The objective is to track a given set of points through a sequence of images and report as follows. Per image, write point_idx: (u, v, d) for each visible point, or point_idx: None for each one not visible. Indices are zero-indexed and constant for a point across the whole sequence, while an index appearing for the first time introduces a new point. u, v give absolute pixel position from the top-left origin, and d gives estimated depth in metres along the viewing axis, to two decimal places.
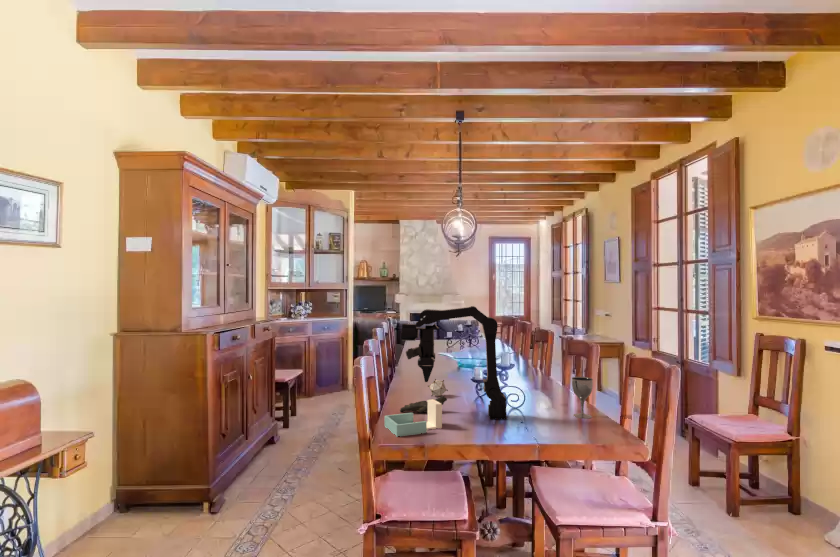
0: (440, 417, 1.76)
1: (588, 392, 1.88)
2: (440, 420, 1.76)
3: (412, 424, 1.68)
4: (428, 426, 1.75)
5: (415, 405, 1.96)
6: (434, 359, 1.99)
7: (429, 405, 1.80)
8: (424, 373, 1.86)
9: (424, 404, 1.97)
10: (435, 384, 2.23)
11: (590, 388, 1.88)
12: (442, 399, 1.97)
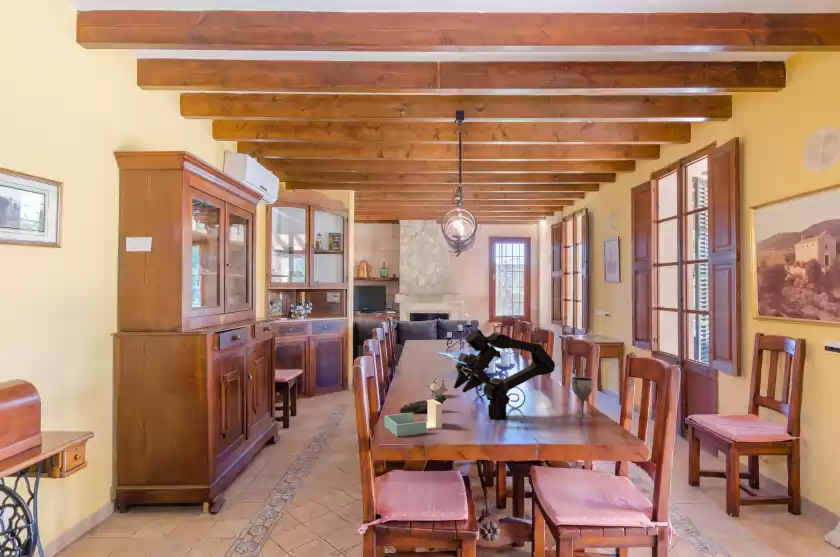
0: (440, 417, 1.76)
1: (588, 392, 1.88)
2: (440, 420, 1.76)
3: (412, 424, 1.68)
4: (428, 426, 1.75)
5: (415, 405, 1.97)
6: None
7: (429, 405, 1.80)
8: (469, 383, 1.80)
9: (424, 404, 1.97)
10: (435, 384, 2.23)
11: (590, 388, 1.88)
12: (442, 399, 1.98)
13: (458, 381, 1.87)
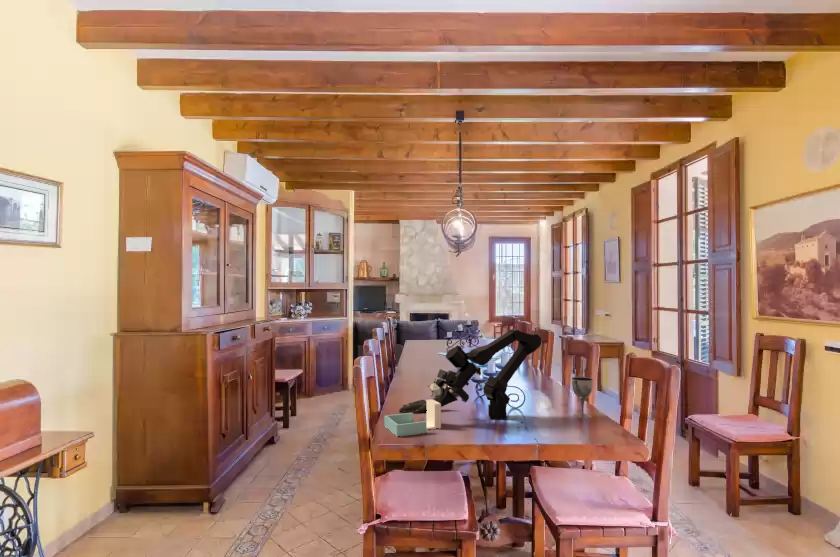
0: (439, 417, 1.76)
1: (588, 392, 1.88)
2: (439, 420, 1.76)
3: (412, 424, 1.68)
4: (427, 426, 1.75)
5: (415, 404, 1.97)
6: None
7: (428, 405, 1.80)
8: (443, 399, 1.79)
9: (423, 403, 1.98)
10: (435, 384, 2.23)
11: (590, 388, 1.88)
12: None
13: None
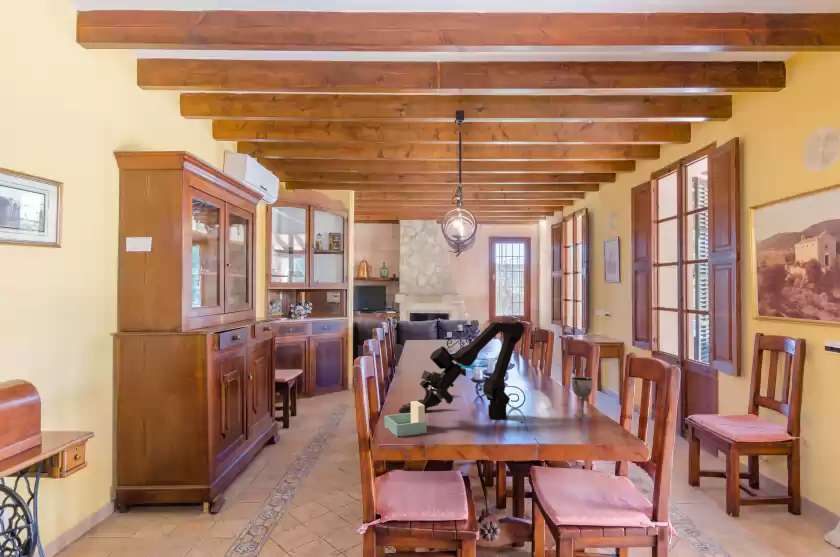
0: (423, 419, 1.73)
1: (588, 392, 1.88)
2: None
3: (412, 424, 1.68)
4: None
5: None
6: None
7: (412, 407, 1.78)
8: (428, 401, 1.76)
9: None
10: None
11: (590, 388, 1.88)
12: None
13: None
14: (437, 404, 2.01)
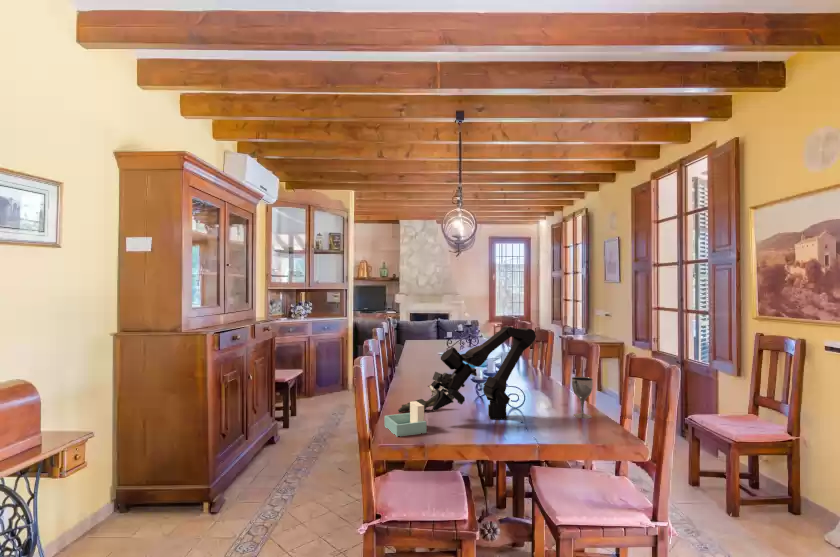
0: (422, 419, 1.73)
1: (588, 392, 1.88)
2: None
3: (412, 424, 1.68)
4: None
5: None
6: None
7: (411, 407, 1.77)
8: (439, 402, 1.78)
9: (422, 402, 2.00)
10: None
11: (590, 388, 1.88)
12: None
13: None
14: None
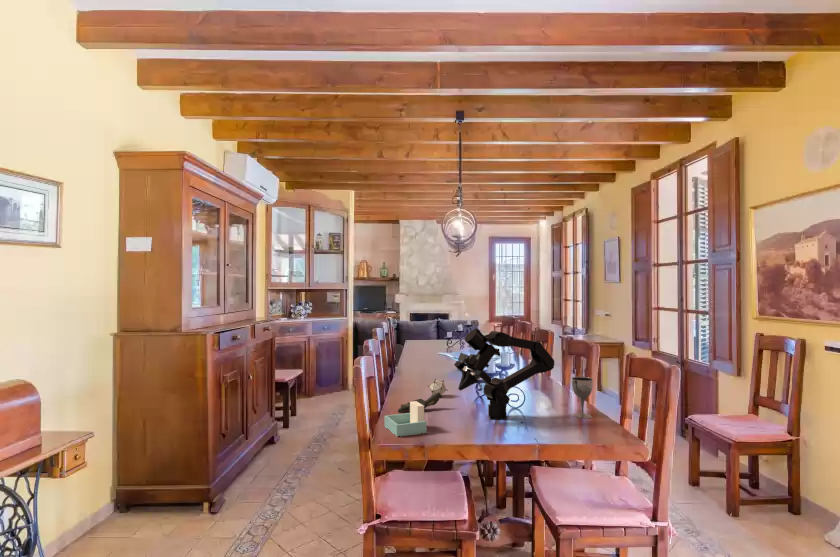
0: (422, 419, 1.73)
1: (588, 392, 1.88)
2: None
3: (412, 424, 1.68)
4: None
5: None
6: None
7: (411, 407, 1.77)
8: (465, 382, 1.83)
9: (422, 402, 2.00)
10: (435, 384, 2.23)
11: (590, 388, 1.88)
12: (438, 396, 2.03)
13: None
14: (435, 403, 2.03)
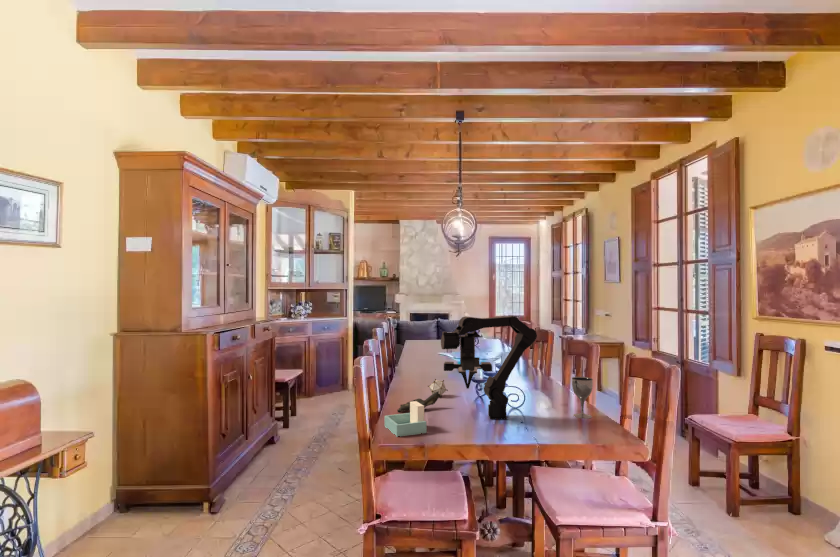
0: (422, 419, 1.73)
1: (588, 392, 1.88)
2: None
3: (412, 424, 1.68)
4: None
5: None
6: None
7: (411, 407, 1.77)
8: None
9: (421, 402, 2.01)
10: (435, 384, 2.23)
11: (590, 388, 1.88)
12: (437, 396, 2.04)
13: None
14: (434, 402, 2.03)
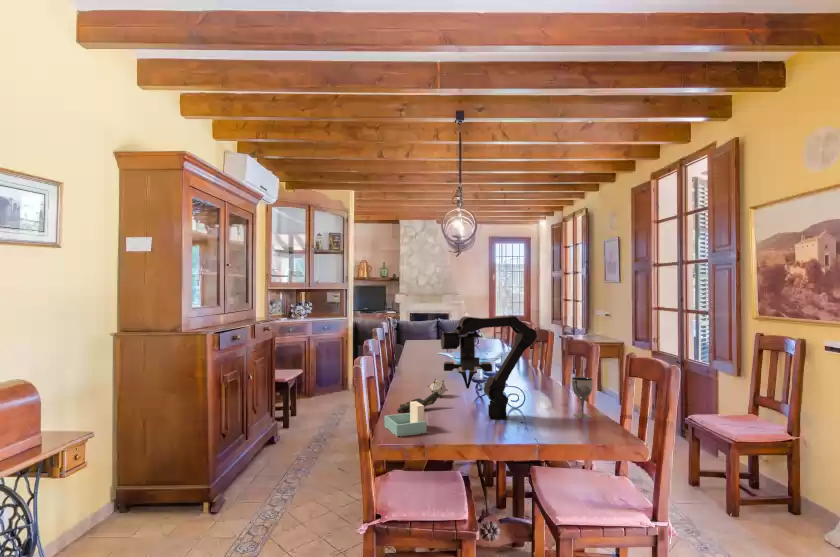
0: (422, 419, 1.73)
1: (588, 392, 1.88)
2: None
3: (412, 424, 1.68)
4: None
5: None
6: None
7: (411, 407, 1.77)
8: None
9: (420, 401, 2.01)
10: (435, 384, 2.23)
11: (590, 388, 1.88)
12: (436, 395, 2.05)
13: None
14: (433, 402, 2.04)
